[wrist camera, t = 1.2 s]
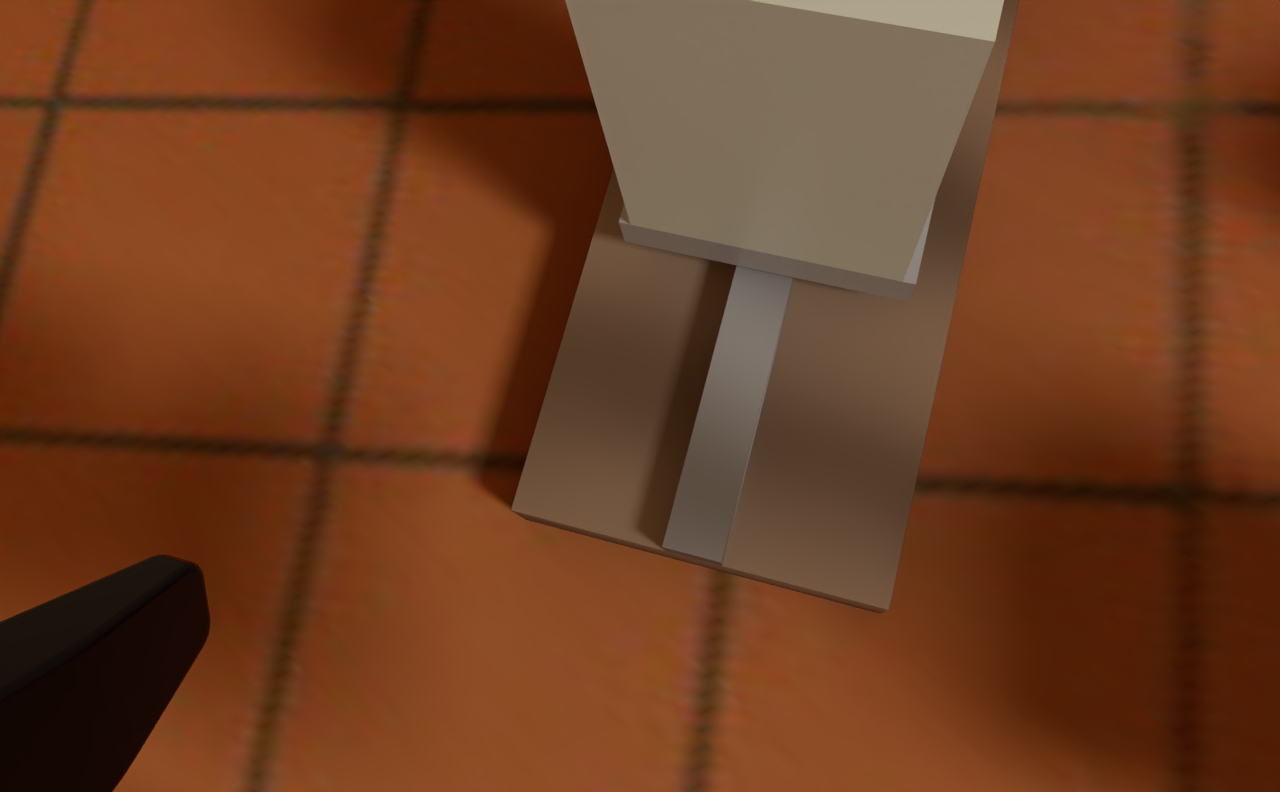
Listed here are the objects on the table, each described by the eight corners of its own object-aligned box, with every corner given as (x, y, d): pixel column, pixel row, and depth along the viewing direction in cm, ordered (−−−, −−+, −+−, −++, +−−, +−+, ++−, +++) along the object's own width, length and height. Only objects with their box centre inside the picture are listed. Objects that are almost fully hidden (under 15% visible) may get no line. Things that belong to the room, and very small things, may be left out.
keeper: (908, 301, 21) (1017, 45, 12) (624, 241, 22) (537, -36, 13) (943, 147, 22) (1068, -198, 13) (667, 96, 23) (611, -256, 14)
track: (880, 613, 22) (953, 584, 14) (526, 519, 23) (400, 442, 15) (1029, -81, 26) (1157, -430, 17) (717, -127, 27) (699, -471, 19)
